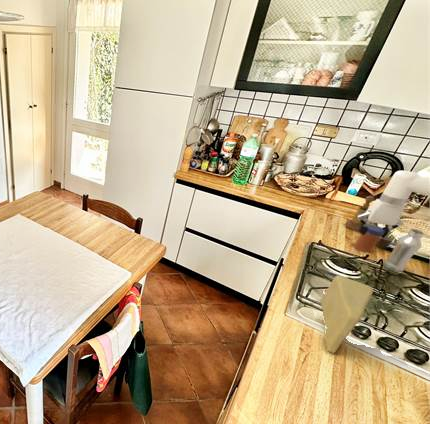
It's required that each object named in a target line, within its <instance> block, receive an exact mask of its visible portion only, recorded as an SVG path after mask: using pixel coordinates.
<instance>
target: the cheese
mask: <svg viewBox="0 0 430 424" xmlns="http://www.w3.org/2000/svg"><path fill="white" fill-rule="evenodd" d="M373 293H374V288H373V287H372V286H370V285H368V284H365V283H363V282H359V281H357V280H353V279H351V278H348V277H345V276H342V275H335V276H334V278H333V279H332V281H331V282H330V284H329V286H328V288H327V289H326V291H325V293H324V294H323V296H322V297H321V299H320V301H319V303H321V305H322V308H323V316H324V320H325V324H326V327H327V329H326V334H325V333H324V340H325V345H326V350H327V352H330V353H332V354H335V353H336V352H337V350H338V349H339V347H340V346H341V344H342V343H343V342H344V341H345V339H346V338H347V337H348V336H349V334H350V333H351V332H352V331H353V330H354V328H355V327H356V325H357V324H358V323H359V321H360V320H361V318H362V316H363V314H364V312H365V310H366V307H367V305H368V304H369V301H370V299H371V298H372V295H373ZM321 318H322V317H321ZM324 320H323V318H322V323H323V324H324ZM325 336H326V337H325Z"/></svg>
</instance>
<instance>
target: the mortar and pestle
mask: <svg viewBox="0 0 430 424" xmlns="http://www.w3.org/2000/svg"><path fill="white" fill-rule="evenodd" d="M364 201H365V203H363V204H362V206H359V207H358V209H357V211H356V212H355V213H354V216H353V217H352V219H350V220H347V221H346V223H345V224H344V225H345V227H346V228H347V229H350V230H353V231H356V232H359V228H360V227H361V225H362V224H361V222H360V221H359V219H358V217H357V216H359V215H362V214H364V213H366V211H367V210H368V208H369V207H370V206H371V203H373V202H374V201H375V197H374V196H373V195H367V196H366V197H365V199H364ZM363 220H365V218H363Z"/></svg>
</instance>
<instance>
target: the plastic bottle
mask: <svg viewBox="0 0 430 424" xmlns="http://www.w3.org/2000/svg"><path fill="white" fill-rule="evenodd" d="M424 234H425V232H423V231H422V230H418V229H414V228H411V229H410V230H409V231H408V232H407V234H406V235H403V236H401V237H399V238H398V239H397V241H396V244H395V245H394V248H393V249H392V251H391V253H390V254H389V255H388V256H387V257H386V258H385V259H384V260H383V261H382V262H383V267H384V268H386V269H387V270H389V271H393V272H402V273H404V271H405V269H406V265H407V264H408V263H409V261H410V260H411V258H412V257H413V256H414V255H415V254H416V253H417V252H418V251H419V250H420V249H421V248H422V241H421V239H422V238H423V237H424Z"/></svg>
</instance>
